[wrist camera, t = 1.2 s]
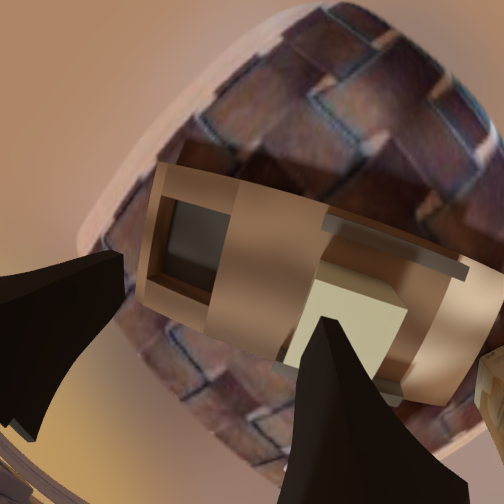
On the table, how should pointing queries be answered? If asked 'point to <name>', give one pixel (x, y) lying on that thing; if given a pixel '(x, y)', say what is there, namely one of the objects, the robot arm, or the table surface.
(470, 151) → the table surface
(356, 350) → the sage block
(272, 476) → the table surface
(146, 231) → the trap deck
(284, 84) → the table surface
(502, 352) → the skincare box
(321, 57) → the table surface
